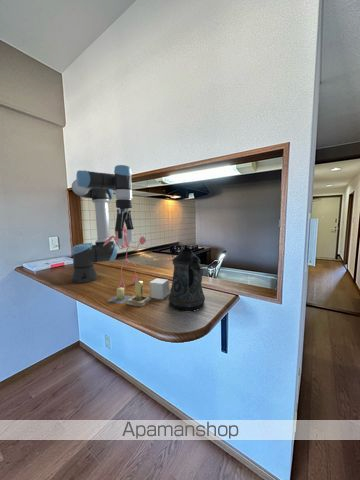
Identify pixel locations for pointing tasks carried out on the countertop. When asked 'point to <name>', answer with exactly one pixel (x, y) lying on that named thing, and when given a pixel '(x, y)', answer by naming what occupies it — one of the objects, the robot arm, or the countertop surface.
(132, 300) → the socket board
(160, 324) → the countertop surface
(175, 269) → the beer stein
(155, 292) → the white block
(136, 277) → the pink flower stem
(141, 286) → the pin
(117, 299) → the peg plate
